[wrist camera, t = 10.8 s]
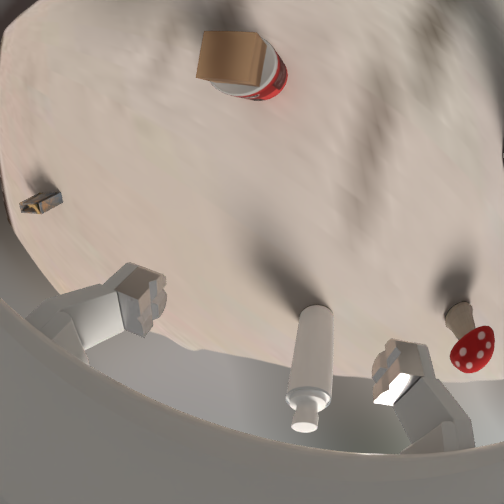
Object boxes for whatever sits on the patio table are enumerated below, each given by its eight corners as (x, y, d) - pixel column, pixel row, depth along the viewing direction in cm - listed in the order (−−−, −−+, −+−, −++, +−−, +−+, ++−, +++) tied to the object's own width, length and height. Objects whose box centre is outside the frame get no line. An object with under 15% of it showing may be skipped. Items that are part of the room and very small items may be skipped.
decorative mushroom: (446, 335, 45) (464, 389, 33) (430, 316, 44) (449, 374, 31) (481, 308, 40) (506, 359, 27) (467, 285, 39) (497, 339, 26)
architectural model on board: (61, 190, 52) (32, 204, 43) (64, 201, 53) (35, 217, 45) (39, 191, 54) (12, 204, 46) (41, 201, 55) (15, 215, 47)
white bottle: (292, 316, 51) (267, 433, 30) (319, 298, 48) (306, 423, 27) (314, 335, 53) (299, 448, 31) (340, 319, 49) (337, 439, 28)
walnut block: (267, 45, 22) (256, 32, 18) (259, 87, 25) (247, 81, 20) (222, 42, 23) (204, 31, 18) (214, 82, 25) (195, 77, 21)
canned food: (224, 76, 34) (192, 65, 25) (264, 43, 30) (245, 20, 21) (256, 111, 36) (234, 110, 26) (299, 79, 32) (292, 65, 23)
